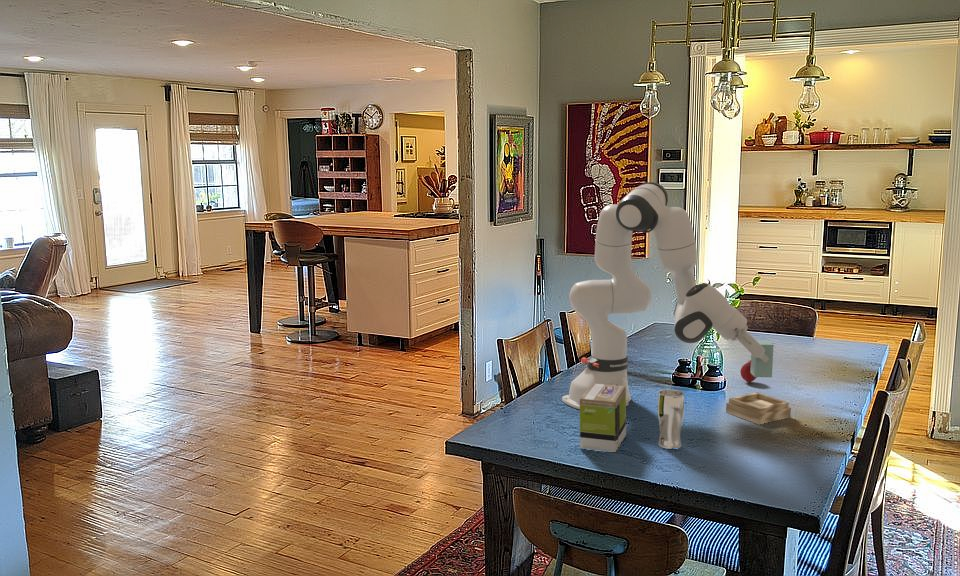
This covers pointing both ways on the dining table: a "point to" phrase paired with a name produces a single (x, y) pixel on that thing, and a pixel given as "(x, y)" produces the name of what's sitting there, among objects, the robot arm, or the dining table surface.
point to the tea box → (603, 417)
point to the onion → (747, 372)
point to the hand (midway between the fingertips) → (763, 357)
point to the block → (761, 367)
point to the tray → (758, 408)
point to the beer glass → (670, 417)
